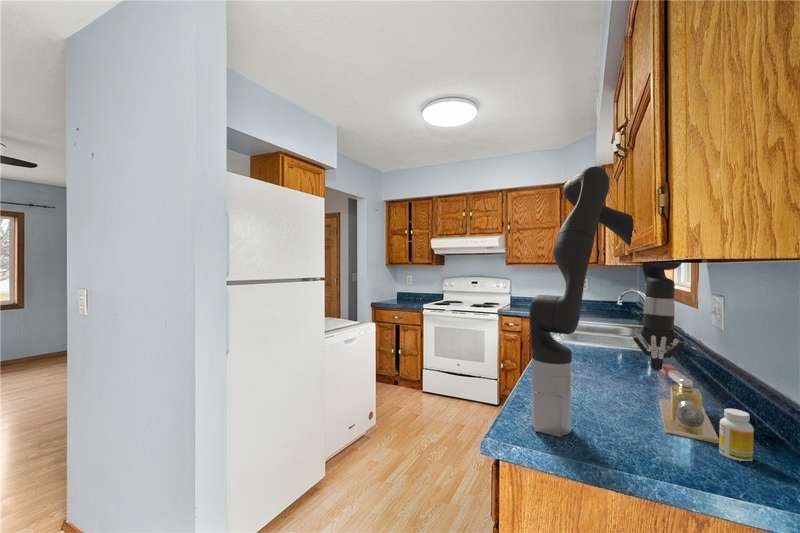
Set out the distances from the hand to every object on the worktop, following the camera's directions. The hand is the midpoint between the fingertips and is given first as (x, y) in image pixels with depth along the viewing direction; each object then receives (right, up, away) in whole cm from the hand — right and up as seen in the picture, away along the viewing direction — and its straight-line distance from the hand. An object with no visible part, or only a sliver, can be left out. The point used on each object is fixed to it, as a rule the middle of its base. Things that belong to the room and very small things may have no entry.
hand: (656, 370), depth 108 cm
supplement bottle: (-5, -10, -31) cm, 32 cm away
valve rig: (-1, -10, -12) cm, 16 cm away
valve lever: (+1, -1, -6) cm, 6 cm away
